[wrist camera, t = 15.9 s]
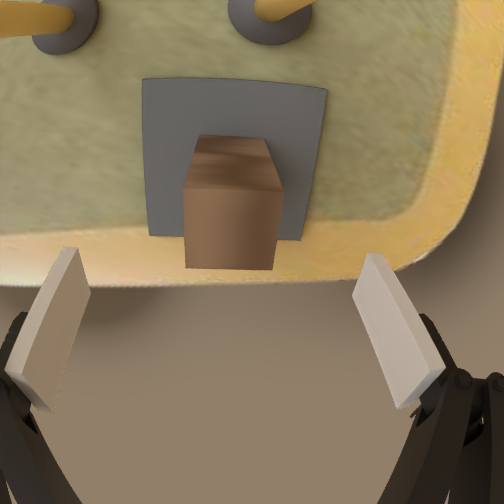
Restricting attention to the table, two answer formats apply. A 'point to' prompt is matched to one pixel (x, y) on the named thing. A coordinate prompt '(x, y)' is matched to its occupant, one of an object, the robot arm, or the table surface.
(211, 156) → the block
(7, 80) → the table surface
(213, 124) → the mat
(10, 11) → the gate
